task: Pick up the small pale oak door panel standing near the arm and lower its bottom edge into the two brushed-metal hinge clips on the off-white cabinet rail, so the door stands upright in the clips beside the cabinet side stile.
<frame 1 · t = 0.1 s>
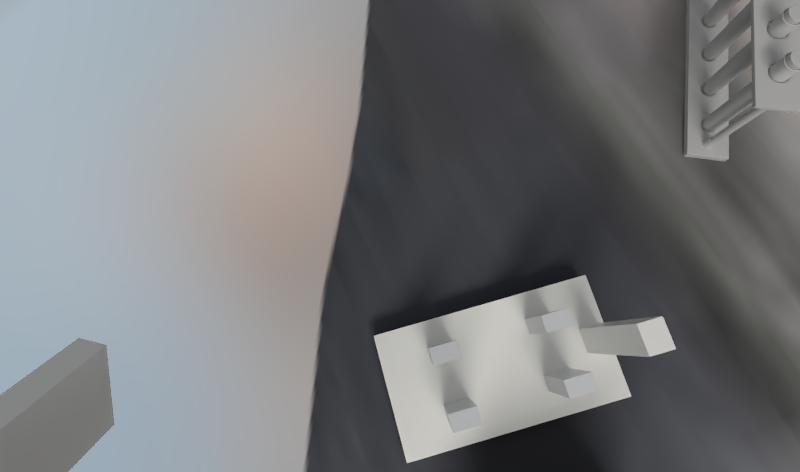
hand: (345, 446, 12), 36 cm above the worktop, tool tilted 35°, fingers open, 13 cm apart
test tube rack: (703, 60, 54), on the worktop
hinge rail: (496, 364, 46), on the worktop
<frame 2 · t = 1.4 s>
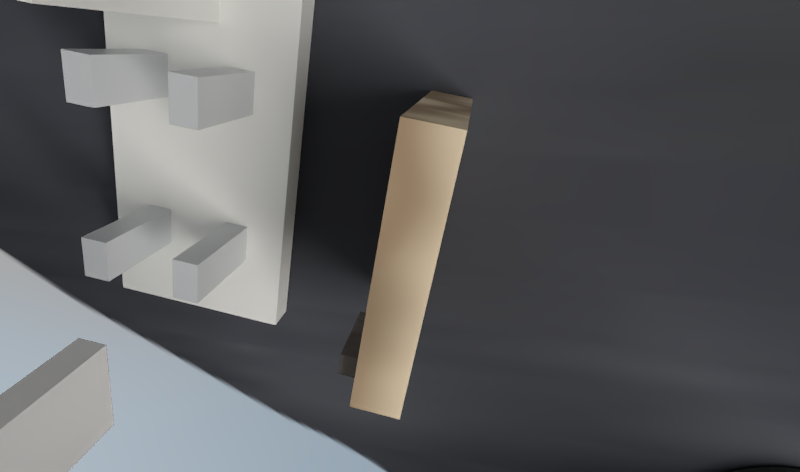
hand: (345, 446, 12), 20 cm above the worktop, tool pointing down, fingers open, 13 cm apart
oak door: (429, 202, 30), on the worktop
hinge rail: (215, 155, 32), on the worktop
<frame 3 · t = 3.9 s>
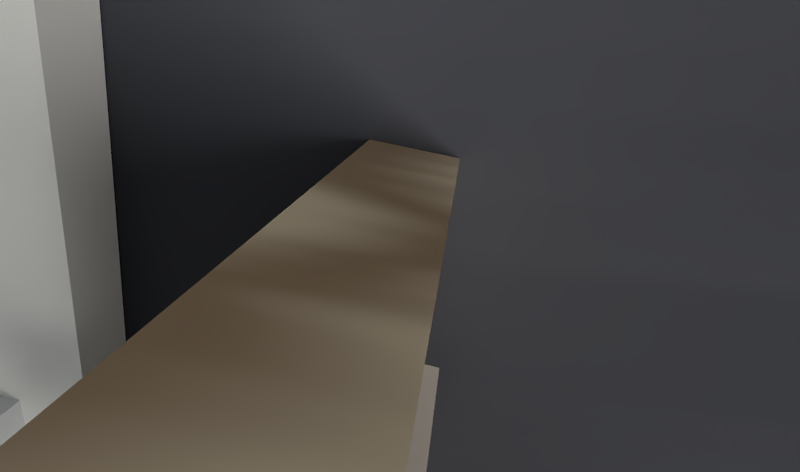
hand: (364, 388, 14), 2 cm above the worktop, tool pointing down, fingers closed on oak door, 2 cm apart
oak door: (375, 356, 15), on the worktop, touching gripper
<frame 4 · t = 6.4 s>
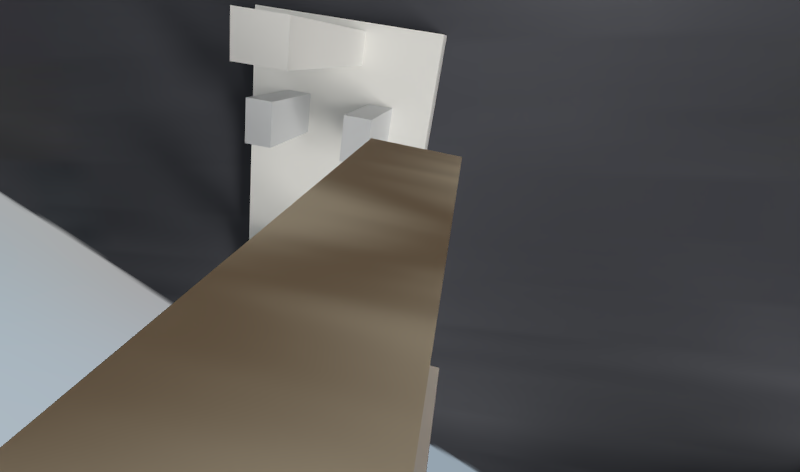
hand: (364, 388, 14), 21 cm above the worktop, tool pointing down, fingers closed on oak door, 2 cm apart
oak door: (376, 355, 15), point 20 cm above the worktop, touching gripper
hinge rail: (339, 183, 34), on the worktop
when the fingers open (5 cm above the worktop, at t = 9.3 s): oak door drops 1 cm, resting on hinge rail.
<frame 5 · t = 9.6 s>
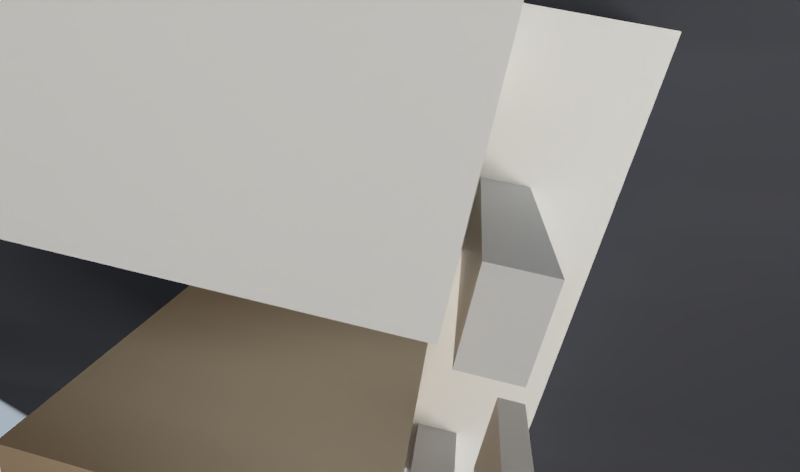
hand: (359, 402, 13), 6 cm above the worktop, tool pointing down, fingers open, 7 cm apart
oak door: (385, 331, 16), point 2 cm above the worktop, touching hinge rail
hinge rail: (393, 303, 18), on the worktop
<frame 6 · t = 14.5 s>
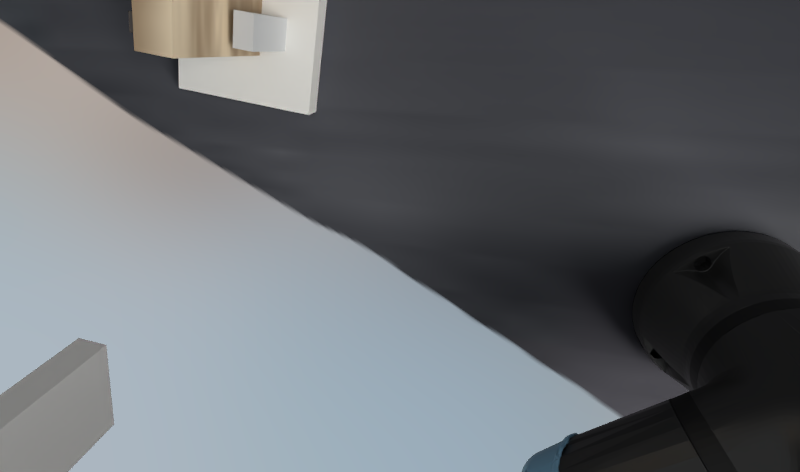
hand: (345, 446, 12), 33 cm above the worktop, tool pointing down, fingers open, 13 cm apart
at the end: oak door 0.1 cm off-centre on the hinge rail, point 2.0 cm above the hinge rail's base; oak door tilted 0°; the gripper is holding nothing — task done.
